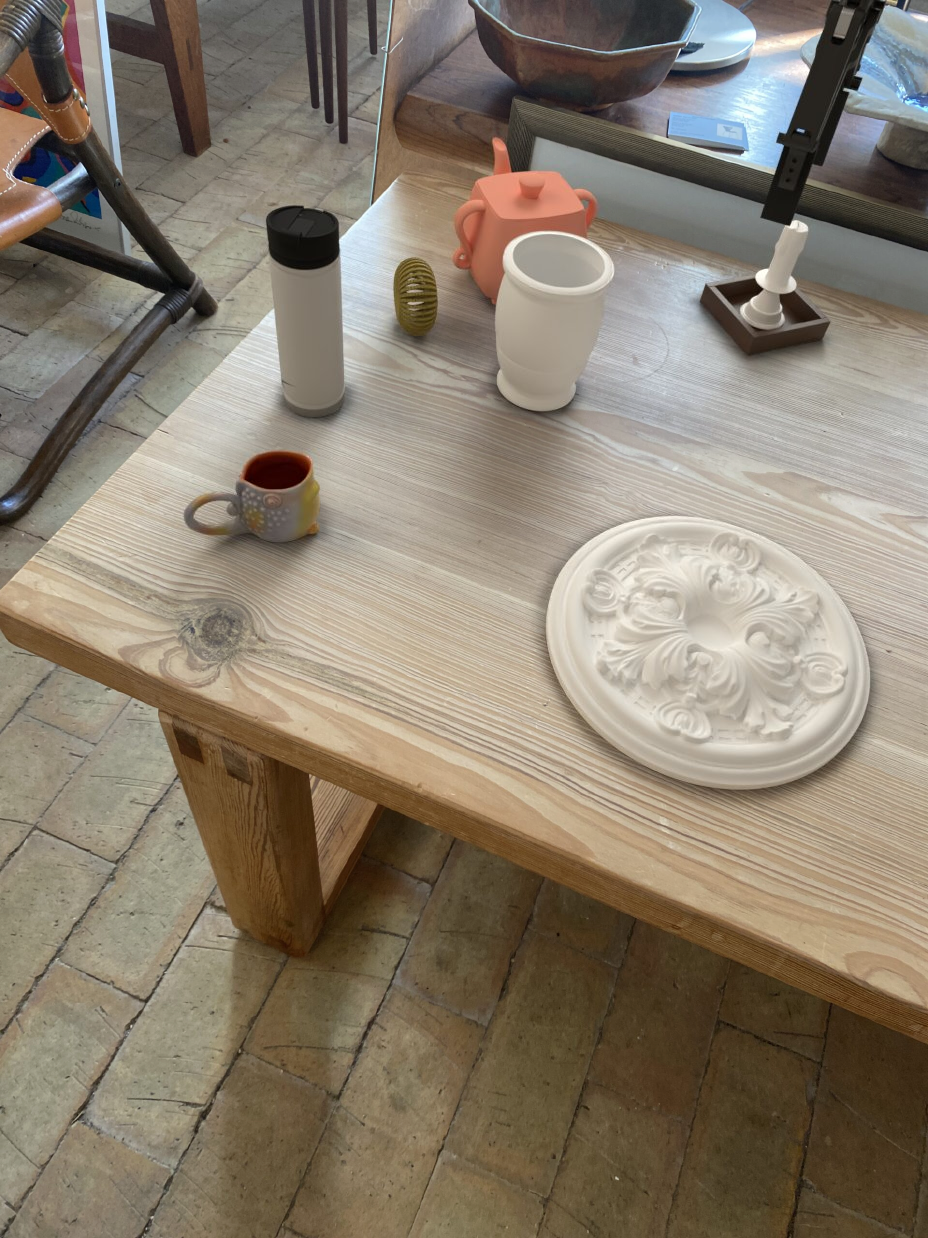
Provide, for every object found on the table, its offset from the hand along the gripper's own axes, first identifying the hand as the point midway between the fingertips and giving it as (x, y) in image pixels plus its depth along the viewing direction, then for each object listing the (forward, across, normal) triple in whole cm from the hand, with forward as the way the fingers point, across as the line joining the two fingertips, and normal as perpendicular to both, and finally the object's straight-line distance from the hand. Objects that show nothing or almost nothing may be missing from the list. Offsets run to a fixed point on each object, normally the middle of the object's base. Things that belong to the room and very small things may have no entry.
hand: (793, 189), depth 85 cm
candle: (+20, -12, 0) cm, 23 cm away
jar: (+21, +14, -18) cm, 30 cm away
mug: (+21, +45, -32) cm, 59 cm away
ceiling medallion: (+23, +36, +9) cm, 44 cm away
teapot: (+20, -3, -27) cm, 34 cm away
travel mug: (+21, +28, -37) cm, 50 cm away
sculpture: (+20, +12, -33) cm, 41 cm away
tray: (+20, -12, 0) cm, 23 cm away
